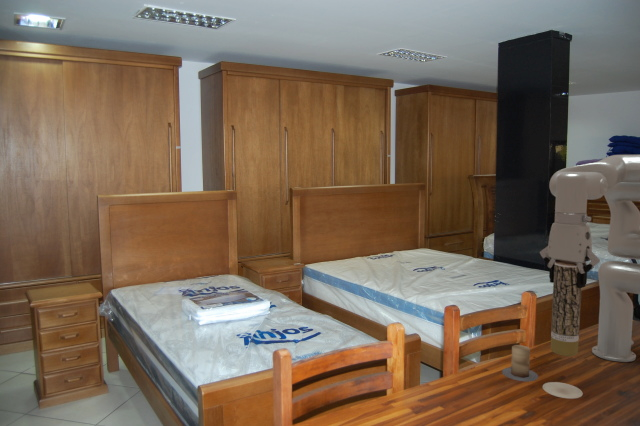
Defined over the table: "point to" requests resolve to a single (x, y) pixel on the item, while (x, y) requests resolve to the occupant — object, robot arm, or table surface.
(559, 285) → the brown bark cylinder
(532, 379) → the board
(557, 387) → the cream pad
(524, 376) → the beige rounded cylinder
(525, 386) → the table surface
